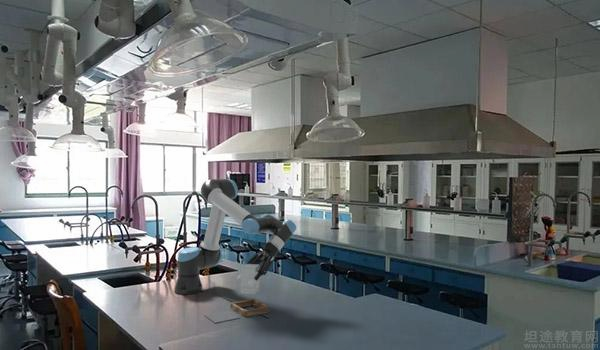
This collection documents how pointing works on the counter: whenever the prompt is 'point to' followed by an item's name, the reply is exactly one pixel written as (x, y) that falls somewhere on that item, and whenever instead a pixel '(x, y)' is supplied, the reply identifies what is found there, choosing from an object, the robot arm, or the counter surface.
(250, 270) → the supplement box
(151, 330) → the counter surface
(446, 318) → the counter surface
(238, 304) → the crate
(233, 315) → the mat
